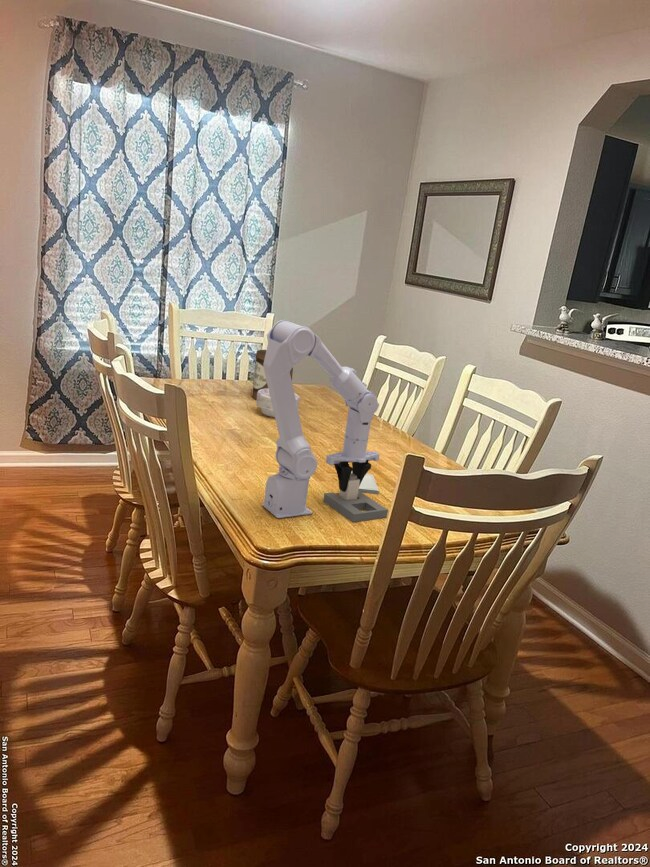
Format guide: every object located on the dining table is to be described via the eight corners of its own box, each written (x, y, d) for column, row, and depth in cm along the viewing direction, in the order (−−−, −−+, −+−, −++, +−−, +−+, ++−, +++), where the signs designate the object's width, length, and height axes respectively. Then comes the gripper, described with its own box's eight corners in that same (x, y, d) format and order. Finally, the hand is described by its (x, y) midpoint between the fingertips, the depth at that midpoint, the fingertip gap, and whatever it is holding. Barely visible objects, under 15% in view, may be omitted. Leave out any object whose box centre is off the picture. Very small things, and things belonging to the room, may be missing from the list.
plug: (345, 503, 160) (349, 477, 158) (338, 498, 163) (342, 473, 161) (356, 502, 162) (360, 476, 160) (349, 497, 165) (353, 472, 163)
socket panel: (353, 522, 152) (354, 514, 152) (323, 500, 162) (324, 493, 162) (386, 517, 158) (387, 509, 157) (355, 496, 168) (356, 489, 167)
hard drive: (379, 490, 172) (373, 473, 184) (348, 487, 171) (344, 470, 183) (378, 496, 172) (372, 479, 184) (347, 493, 171) (343, 476, 183)
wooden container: (248, 393, 261) (254, 338, 255) (284, 395, 266) (290, 341, 260) (256, 403, 248) (262, 345, 242) (293, 405, 252) (300, 348, 246)
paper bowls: (296, 423, 228) (298, 401, 226) (252, 417, 228) (254, 395, 226) (298, 412, 243) (301, 391, 240) (257, 406, 242) (260, 386, 240)
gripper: (341, 444, 151) (333, 498, 155) (390, 440, 159) (381, 492, 163) (324, 434, 156) (317, 487, 160) (372, 432, 164) (364, 482, 168)
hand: (348, 489), depth 162 cm, fingers closed on plug, 3 cm apart
